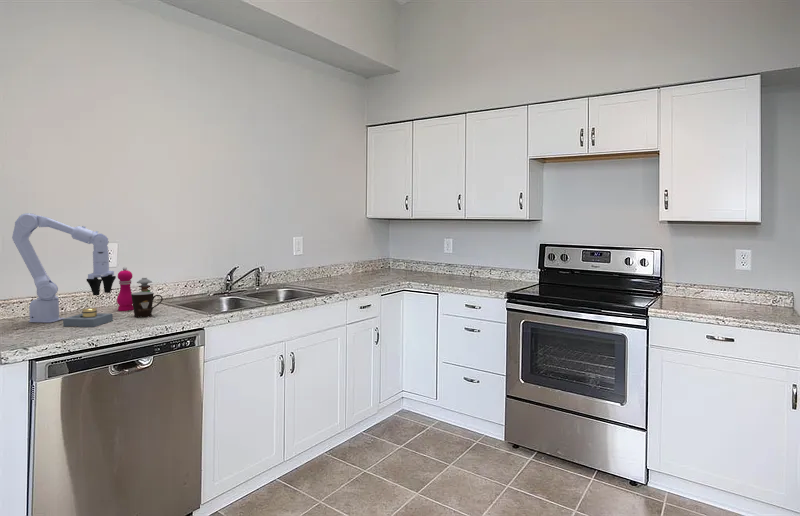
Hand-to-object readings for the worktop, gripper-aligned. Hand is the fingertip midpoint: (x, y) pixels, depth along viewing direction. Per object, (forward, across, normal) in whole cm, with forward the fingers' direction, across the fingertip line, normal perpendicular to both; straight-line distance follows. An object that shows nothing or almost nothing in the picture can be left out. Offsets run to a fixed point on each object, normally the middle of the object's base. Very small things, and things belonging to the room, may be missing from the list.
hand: (102, 294), depth 207 cm
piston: (+10, -13, -3) cm, 17 cm away
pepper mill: (+10, +17, 0) cm, 20 cm away
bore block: (+10, -14, -3) cm, 17 cm away
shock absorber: (+10, +17, -9) cm, 22 cm away
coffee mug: (+10, +4, -17) cm, 20 cm away
